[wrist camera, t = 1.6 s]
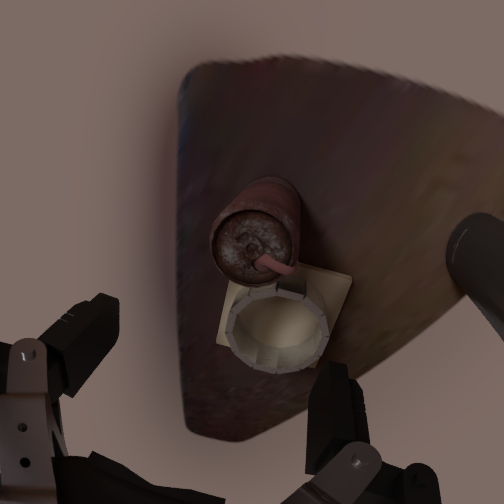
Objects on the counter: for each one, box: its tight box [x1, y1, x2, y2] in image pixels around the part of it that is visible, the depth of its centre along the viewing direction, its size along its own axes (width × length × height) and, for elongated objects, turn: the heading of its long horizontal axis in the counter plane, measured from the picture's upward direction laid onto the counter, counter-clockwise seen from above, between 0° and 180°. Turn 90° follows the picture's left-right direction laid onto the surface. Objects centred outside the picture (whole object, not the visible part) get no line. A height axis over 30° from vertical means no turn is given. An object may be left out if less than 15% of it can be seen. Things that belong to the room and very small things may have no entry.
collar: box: [225, 274, 330, 374], centre depth 35 cm, size 11×11×4 cm
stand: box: [216, 262, 352, 368], centre depth 37 cm, size 13×13×1 cm
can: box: [209, 176, 301, 288], centre depth 27 cm, size 6×6×14 cm
